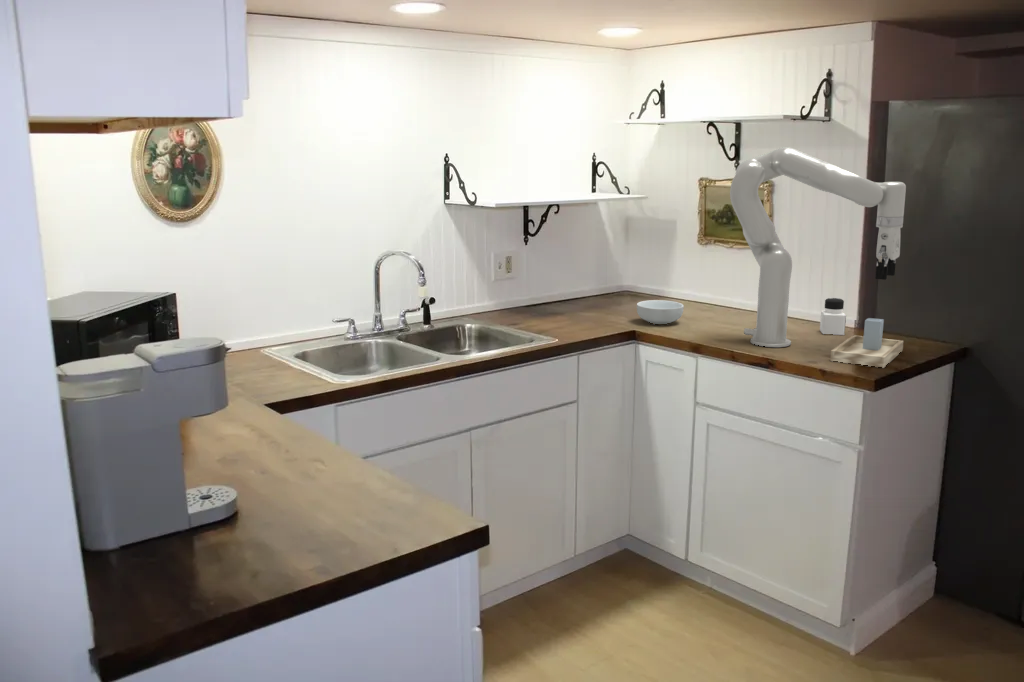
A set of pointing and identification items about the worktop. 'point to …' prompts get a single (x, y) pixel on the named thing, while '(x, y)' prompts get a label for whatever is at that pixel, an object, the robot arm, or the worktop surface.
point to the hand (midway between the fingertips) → (885, 277)
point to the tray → (866, 352)
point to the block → (873, 334)
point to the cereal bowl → (660, 311)
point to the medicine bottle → (833, 317)
